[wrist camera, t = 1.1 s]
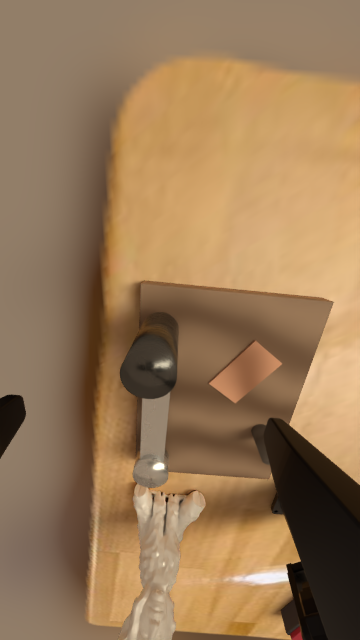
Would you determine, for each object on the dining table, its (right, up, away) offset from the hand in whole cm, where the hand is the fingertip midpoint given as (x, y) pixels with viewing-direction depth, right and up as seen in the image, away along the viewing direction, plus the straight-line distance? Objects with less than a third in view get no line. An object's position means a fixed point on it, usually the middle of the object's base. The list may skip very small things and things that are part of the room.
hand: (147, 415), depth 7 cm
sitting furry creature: (-1, -22, +21) cm, 31 cm away
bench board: (+5, -4, +14) cm, 16 cm away
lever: (-1, -4, +12) cm, 13 cm away
